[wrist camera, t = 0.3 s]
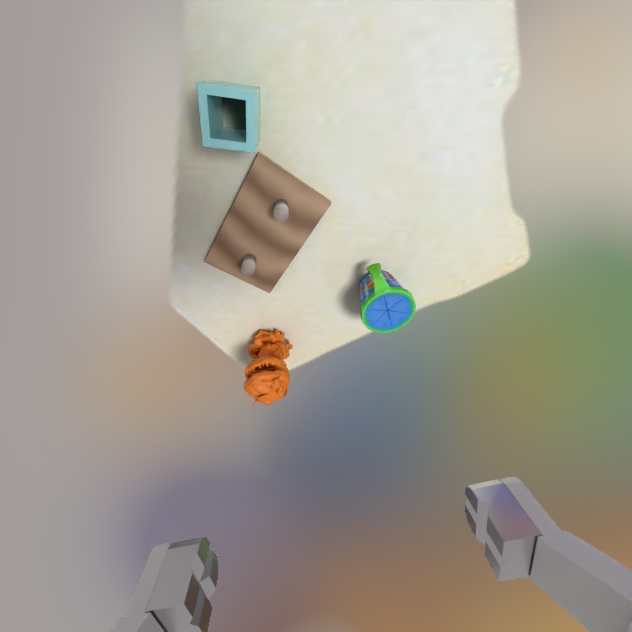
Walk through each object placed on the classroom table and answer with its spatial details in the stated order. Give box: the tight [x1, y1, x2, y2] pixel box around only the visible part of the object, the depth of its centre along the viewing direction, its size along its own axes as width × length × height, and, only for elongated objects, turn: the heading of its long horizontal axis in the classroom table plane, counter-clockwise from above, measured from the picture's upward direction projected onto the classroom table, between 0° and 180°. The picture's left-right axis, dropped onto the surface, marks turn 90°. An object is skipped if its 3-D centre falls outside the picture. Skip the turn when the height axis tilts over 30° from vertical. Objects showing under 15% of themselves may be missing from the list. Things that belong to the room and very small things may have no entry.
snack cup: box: [360, 263, 416, 333], centre depth 61 cm, size 16×10×10 cm
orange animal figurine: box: [244, 329, 293, 405], centre depth 66 cm, size 11×11×18 cm
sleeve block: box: [196, 81, 260, 153], centre depth 40 cm, size 6×6×10 cm
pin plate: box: [205, 152, 331, 293], centre depth 53 cm, size 22×14×6 cm, turn 146°
